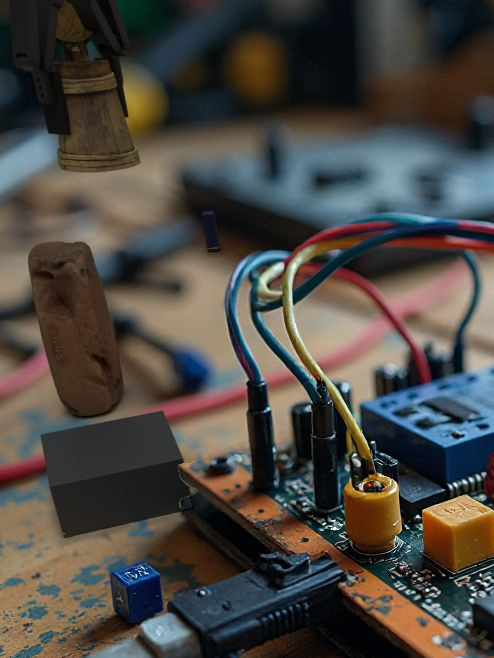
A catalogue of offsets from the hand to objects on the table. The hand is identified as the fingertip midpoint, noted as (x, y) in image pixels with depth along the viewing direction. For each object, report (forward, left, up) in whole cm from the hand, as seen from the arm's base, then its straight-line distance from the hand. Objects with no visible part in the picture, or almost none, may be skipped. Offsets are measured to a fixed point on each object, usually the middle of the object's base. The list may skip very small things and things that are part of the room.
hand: (89, 125), depth 123 cm
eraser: (-27, +56, -33) cm, 70 cm away
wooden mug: (0, 0, -4) cm, 4 cm away
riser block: (+15, -24, -33) cm, 44 cm away
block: (-4, -5, -33) cm, 34 cm away
